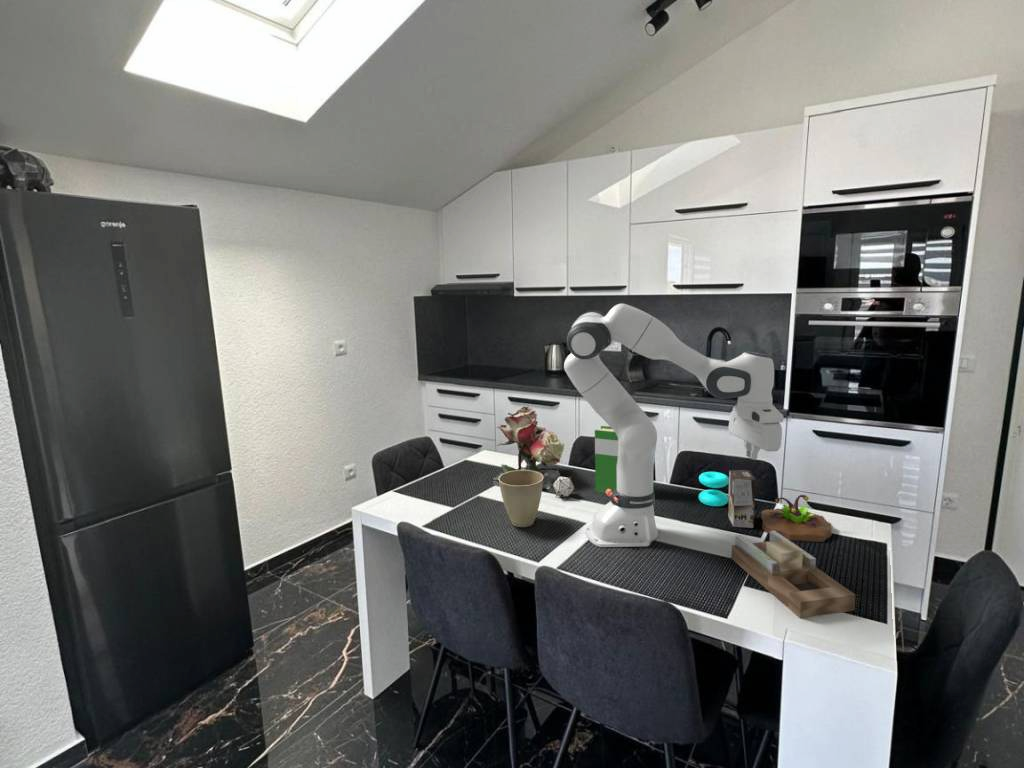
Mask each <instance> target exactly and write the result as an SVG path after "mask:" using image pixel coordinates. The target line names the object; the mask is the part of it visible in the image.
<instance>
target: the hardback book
mask: <svg viewBox="0 0 1024 768" xmlns="http://www.w3.org/2000/svg"><path fill="white" fill-rule="evenodd" d="M617 460H618V436H617V435H616V433H615V432H614V430H613V429H612V428H611V427H610V426H609V425H608V426H607V425H601V426H600V429H595V430H594V463H595V464H594V466H595V467H594V468H595V469H594V470H595V471H594V472H595V473H594V475H595V476H594V477H595V478H594V480H595V482H594V485H595V486H594V487H595V492H597V493H604V494H606V491H607V489H611V490H612V491H613V492H614V491H615V490H616V488H617Z"/></svg>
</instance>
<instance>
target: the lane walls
mask: <svg viewBox="0 0 1024 768" xmlns="http://www.w3.org/2000/svg"><path fill="white" fill-rule="evenodd" d="M734 540H735V541H734V545H736V546H737V547H738V548H739V549H741V550H742V551H743V552H744V553H745V554H747V555H748V556H749V557H750V558H752V559H753V560H754V561H755V562H757V563H758V564H759V565H760V566H761V567H763V568H764V569H765V570H766V571H768V572H769V573H770V574H771V575H776V574H778V563H777V562H776V561H774V560H773V559H772V558H770V557H769V556H768V555H767V554H765V553H764V552H763V551H761V550H760V549H759V548H757V547H756V546H755V545H753V544H752V543H753V542H752V541H750V540H749V539H747V538H745V537H744V536H743V535H741V534H735V538H734ZM783 540H788V539H786V538H785V537H783V536H782V535H780V534H779V533H778V532H776V531H770V534H769V541H770V542H775V541H783ZM788 541H790V542H791V543H793V544H794V545H796V546H797V547H799V548H800V549H802V550H803V558H802V565H803V566H805V567H806V568H808V569H809V570H815V567H817V566H816V564H817V558H816V557H815V556H813V555H812V554H810V553H808V552H807V551H805V550H804V549H803V548H801V547H800V546H798V545H797V544H796V543H794V542H793V541H792V540H788Z"/></svg>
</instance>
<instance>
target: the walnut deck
mask: <svg viewBox="0 0 1024 768" xmlns="http://www.w3.org/2000/svg"><path fill="white" fill-rule="evenodd" d="M767 542H770V540H768V541H767V540H766V541H760V542H751V543H752V544H753V545H755V546H756V547H757V548H759V549H760V550H761V551H763V552H764V553H765V554H766V544H767ZM730 559H731V560H732V561H733V562H735V564H737V565H738V566H739V567H740V568H741V569H743V570H744V571H745V572H746V573H747V574H748V575H750V576H751V578H753V579H754V580H755V581H756V582H758V584H760V585H761V586H762V587H763V588H765V590H766V591H768V592H769V593H770V594H771V595H773V596H774V597H775V598H776V599H777V600H778V601H779V602H780V603H782V604H783V605H784V606H785V607H787V609H788V610H790V611H791V612H792V613H793V614H794V615H795V616H796V617H798V618H799V619H804V618H812V617H817V616H826V615H832V614H838V613H839V614H840V613H846V612H847V613H848V612H852V611H853V612H854V611H855V607H856V593H854V592H852V591H851V590H849V589H848V588H846V587H845V586H844V585H842V584H841V583H839V582H838V581H837V580H835V579H834V578H832V577H831V576H829V574H826V573H825V572H824V571H823V570H821V569H819V568H818V567H817V566H816V567H815V570H809V569H808V568H806V567H805V566H803V565H802V569H796V570H788V571H781V572H780V571H779V570H778V574H776V575H771V574H770V573H769V572H768V571H766V570H765V569H764V568H763V567H761V566H760V565H759V564H758V563H757V562H755V561H754V560H753V559H752V558H750V557H749V556H748V555H747V554H745V553H744V552H743V551H742V550H741V549H739V548H738V547H737V546H736V545H735V544H734V545H733V544H732V545H731V558H730Z"/></svg>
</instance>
